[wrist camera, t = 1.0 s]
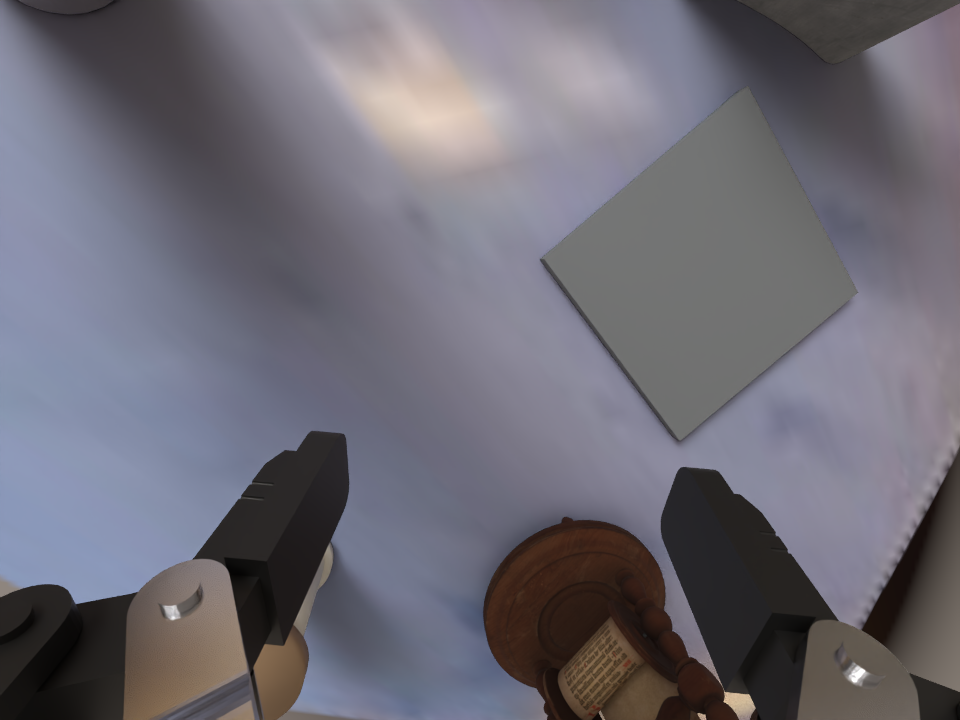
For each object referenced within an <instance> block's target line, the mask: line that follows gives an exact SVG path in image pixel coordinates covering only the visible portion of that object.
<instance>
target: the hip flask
mask: <svg viewBox="0 0 960 720" xmlns="http://www.w3.org/2000/svg"><path fill="white" fill-rule="evenodd" d="M737 1H739V2H741V3H743V4H745V5H747V6H748V7H750V8H752V9H754V10H756V11H757V12H759V13H761V14H763V15H764V16H766V17H768V18H770V19H771V20H773V21H775V22H776V23H778V24H779V25H781V26H782V27H784V28H785V29H787V30H788V31H789V32H791V33H792V34H794V35H795V36H796V37H797V38H799V39H800V40H801V41H803V42H804V43H805V44H806V45H807V46H809V47H810V48H811V49H812V50H813V51H814V52H815V53H816V54H817V55H818V56H819V57H821V58H822V59H823V60H824V61H825V62H827V63H831V64H837V63H840V62H842V61H844V60H846V59H848V58H850V57H852V56H854V55H856V54H858V53H860V52H862V51H864V50H866V49H868V48H870V47H872V46H874V45H876V44H878V43H880V42H882V41H884V40H886V39H888V38H891V37H893V36H895V35H897V34H899V33H901V32H903V31H905V30H907V29H909V28H911V27H913V26H915V25H917V24H919V23H921V22H923V21H925V20H927V19H929V18H931V17H933V16H935V15H937V14H939V13H941V12H943V11H945V10H947V9H949V8H951V7H953V6H955V5H957V4H959V3H960V0H737Z"/></svg>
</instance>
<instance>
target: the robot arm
mask: <svg viewBox="0 0 960 720" xmlns="http://www.w3.org/2000/svg"><path fill="white" fill-rule="evenodd" d="M18 1H20V2H22V3H24V4H26V5H28V6H31V7H34V8H37V9H40V10H43V11H46V12H52V13H60V14H79V13H88V12H91V11H93V10H96V9H99V8H102V7H105V6H106V5H108V4H109V3H111V2H112V1H114V0H18ZM348 492H349V473H348V459H347V445H346V437H345V435H344V434H341V433H330V432H320V431H311V432H310V433H309V434H308V435H307V436H306V438H305V439H304V441H303V442H302V444H301V445H300V446H299V448H298V449H297V451H289V450H285V451H283V452H282V453H280V454H279V455H277V456H276V457H275V458H273V459H272V460H270V461H269V462H267V463H266V464H265V465H264V466H263V468H262V469H261V470H260V472H259V473H258V474H257V476H256V477H255V478H254V479H253V481H252V485H251V484H250V485H249V486H248V487H247V489H246V490H245V491H244V493H243V494H242V495H241V499H238V501H237V502H236V503H235V505H234V506H233V507H232V508H231V510H230V511H229V512H228V514H227V515H226V516H225V518H224V519H223V520H222V522H221V523H220V524H219V526H218V527H217V528H216V530H215V531H214V532H213V534H212V535H211V536H210V538H209V539H208V540H207V541H206V543H205V544H204V545H203V547H202V548H201V549H200V551H199V552H198V553H197V555H196V556H195V557H194V558H193V559H192V560H190V561H185V562H182V563H179V564H177V565H174V566H172V567H170V568H168V569H166V570H164V571H162V572H161V573H159V574H158V575H156V576H155V577H153V578H152V579H151V580H150V581H149V582H147V583H146V584H145V585H144V586H143V587H142V588H141V589H140V590H139V592H136V593H132V594H127V595H122V596H117V597H111V598H106V599H101V600H96V601H90V602H85V603H80V604H75V602H74V600H73V598H72V596H71V595H70V593H69V591H68V590H67V589H65V588H64V587H61V586H58V585H52V584H44V585H36V586H31V587H27V588H23V589H20V590H17V591H14V592H12V593H9V594H8V595H5V596H3V597H0V720H264V715H263V710H262V705H261V700H260V695H259V690H258V685H257V680H256V675H255V671H254V665H255V663H256V661H257V659H258V657H259V655H260V653H261V651H262V649H263V647H264V644H268V645H278V646H284V645H285V642H286V640H287V638H288V636H289V633H290V631H291V629H292V627H293V624H294V622H295V620H296V618H297V615H298V613H299V611H300V609H301V606H302V604H303V602H304V599H305V597H306V595H307V593H308V590H309V588H310V586H311V584H312V581H313V579H314V577H315V575H316V572H317V570H318V568H319V566H320V563H321V561H322V559H323V556H324V554H325V552H326V550H327V547H328V545H329V543H330V541H331V538H332V536H333V534H334V532H335V529H336V527H337V525H338V523H339V520H340V518H341V516H342V513H343V511H344V509H345V506H346V502H347V498H348ZM775 533H776V532H775V531H774V529H773V528H772V527H771V525H770V524H769V522H768V521H767V520H766V518H765V517H764V515H763V514H762V513H761V512H760V511H759V510H758V509H757V508H756V507H754V506H753V505H752V504H751V503H750V502H748V501H747V500H746V499H745V498H744V497H743V496H741V495H740V494H734V493H733V492H732V490H731V489H730V487H729V486H728V484H727V483H726V481H725V480H724V478H723V477H722V475H721V474H720V473H719V472H718V471H716V470H710V469H700V468H689V467H682V468H680V469H679V470H678V472H677V474H676V477H675V479H674V482H673V485H672V488H671V490H670V493H669V496H668V499H667V501H666V504H665V507H664V510H663V513H662V517H661V534H662V539H663V542H664V544H665V547H666V549H667V552H668V554H669V557H670V559H671V561H672V564H673V566H674V569H675V571H676V574H677V576H678V578H679V581H680V583H681V586H682V588H683V591H684V593H685V596H686V598H687V600H688V603H689V605H690V608H691V610H692V613H693V615H694V618H695V620H696V622H697V625H698V627H699V630H700V632H701V635H702V637H703V639H704V642H705V644H706V647H707V649H708V652H709V654H710V657H711V659H712V661H713V664H714V666H715V669H716V671H717V674H718V676H719V679H720V681H721V683H722V686H723V688H724V691H725V692H730V693H741V694H750V696H751V698H752V701H753V703H754V705H755V707H756V709H755V710H754V712H753V713H752V715H751V718H750V720H960V692H958V691H955V690H952V689H950V688H947V687H945V686H942V685H939V684H937V683H934V682H931V681H929V680H926V679H923V678H921V677H918V676H915V675H913V674H910V673H908V672H907V670H906V669H905V668H904V666H903V665H902V664H901V663H900V662H899V660H898V659H897V658H896V657H895V656H894V655H893V654H892V653H891V652H890V651H889V650H888V649H887V648H885V647H884V646H883V645H882V644H880V643H879V642H878V641H876V640H875V639H873V638H872V637H871V636H870V635H868V634H866V633H864V632H863V631H861V630H859V629H857V628H855V627H853V626H851V625H848V624H846V623H843V622H839V620H838V619H837V618H836V616H835V615H834V613H833V612H832V611H831V609H830V608H829V606H828V605H827V604H826V602H825V601H824V599H823V598H822V597H821V595H820V594H819V592H818V591H817V590H816V588H815V587H814V585H813V584H812V583H811V581H810V580H809V578H808V577H807V576H806V574H805V573H804V571H803V570H802V569H801V567H800V566H799V564H798V563H797V562H796V560H795V559H794V557H793V556H792V555H791V554H788V551H787V550H788V549H787V548H786V546H785V545H784V543H783V542H782V541H781V539H780V538H779V536H776V535H775Z"/></svg>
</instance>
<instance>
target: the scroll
mask: <svg viewBox="0 0 960 720" xmlns="http://www.w3.org/2000/svg"><path fill="white" fill-rule="evenodd" d="M664 606H665V585H664V580H663V576H662V573H661V570H660V567H659V566H658V564H657V562H656V560H655V559H654V557H653V556H652V554H651V553H650V552H649V551H648V550H647V548H646V547H645V546H644V545H643V544H642V542H641V541H640V540H638V539H637V538H636V537H635V536H634V535H632V534H631V533H630V532H628V531H626V530H624V529H623V528H621V527H618V526H616V525H613V524H610V523H606V522H601V521H593V520H578V521H573V520H572V519H571V518H568V517H564V518H563V519H562V523H560V524H557V525H554V526H551V527H548V528H546V529H543V530H541V531H539V532H537V533H535V534H534V535H532V536H530V537H529V538H527V539H526V540H525V541H523V542H522V543H520V544H519V545H518V546H517V547H516V548H515V549H513V550H512V551H511V552H510V553H509V555H508V556H507V557H506V558H505V559H504V560H503V562H502V563H501V564H500V566H499V567H498V569H497V570H496V572H495V573H494V575H493V577H492V579H491V581H490V584H489V586H488V589H487V592H486V596H485V601H484V609H483V619H484V626H485V631H486V636H487V640H488V644H489V647H490V649H491V652H492V654H493V656H494V657H495V659H496V661H497V662H498V663H499V665H500V666H501V667H502V668H503V669H504V670H505V671H506V672H507V673H508V674H509V675H510V676H512V677H513V678H515V679H516V680H518V681H520V682H521V683H523V684H526V685H528V686H531V687H534V688H537V690H538V692H539V693H540V695H541V696H542V697H543V699H544V700H545V702H546V703H545V704H544V711H545V713H546V714H547V715H548V717H547V720H602V718H601V717H600V715H599V713H598V712H599V711H600V710H601V712H602V714H603V716H604V718H605V720H701V719H700V718H699V716H698V714H697V713H701V714H706V720H739V719H738V717H737V715H736V713H735V712H734V710H733V709H732V708H731V707H730V706H729V705H728V704H726V703H724V702H723V701H724V697H725V695H724V690H723V687H722V686H721V684H720V683H719V681H718V680H717V679H716V677H715V676H714V675H713V674H712V673H711V672H710V671H709V670H708V669H707V668H706V667H705V666H704V665H702V664H700V663H699V662H698V661H697V660H696V659H694V658H692V657H689V656H688V654H687V651H686V648H685V645H684V643H683V641H682V639H681V638H680V636H679V635H678V634H677V633H675V632H673V631H672V623H671V619H670V617H669V616H668V614H667V613H666V612H665V611H664Z"/></svg>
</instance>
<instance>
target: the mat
mask: <svg viewBox="0 0 960 720" xmlns="http://www.w3.org/2000/svg"><path fill="white" fill-rule="evenodd" d="M540 260H541V261H542V263H543V264H544V265H545V267H546V268H547V269H548V271H549V272H550V273H551V275H552V276H553V277H554V279H555V280H556V281H557V283H558V284H559V285H560V287H561V288H562V289H563V291H564V292H565V293H566V295H567V296H568V298H569V299H570V300H571V302H572V303H573V304H574V306H575V307H576V308H577V310H578V311H579V312H580V314H581V315H582V316H583V318H584V319H585V320H586V322H587V323H588V324H589V326H590V327H591V328H592V330H593V331H594V332H595V334H596V335H597V336H598V338H599V339H600V340H601V342H602V343H603V344H604V346H605V347H606V348H607V350H608V351H609V352H610V354H611V355H612V356H613V358H614V359H615V360H616V362H617V363H618V364H619V366H620V367H621V368H622V370H623V371H624V372H625V374H626V375H627V376H628V378H629V379H630V380H631V382H632V383H633V384H634V386H635V387H636V388H637V390H638V391H639V392H640V394H641V395H642V396H643V398H644V399H645V400H646V402H647V403H648V404H649V406H650V407H651V408H652V410H653V411H654V412H655V414H656V415H657V416H658V418H659V419H660V420H661V422H662V423H663V424H664V426H665V427H666V428H667V430H668V431H669V432H670V434H671V435H672V436H673V437H674V438H676V439H677V440H679V441H681V440H682V439H683V438H684V437H686V436H687V435H688V434H689V433H690V432H692V431H693V430H694V429H695V428H696V427H698V426H699V425H700V424H701V423H702V422H704V421H705V420H706V419H707V418H708V417H710V416H711V415H712V414H713V413H714V412H716V411H717V410H718V409H719V408H720V407H722V406H723V405H724V404H725V403H726V402H727V401H729V400H730V399H731V398H732V397H733V396H735V395H736V394H737V393H738V392H739V391H741V390H742V389H743V388H744V387H745V386H747V385H748V384H749V383H750V382H751V381H753V380H754V379H755V378H756V377H757V376H759V375H760V374H761V373H762V372H763V371H765V370H766V369H767V368H768V367H769V366H771V365H772V364H773V363H774V362H775V361H777V360H778V359H779V358H780V357H781V356H783V355H784V354H785V353H786V352H787V351H789V350H790V349H791V348H792V347H793V346H795V345H796V344H797V343H798V342H799V341H801V340H802V339H803V338H804V337H805V336H807V335H808V334H809V333H810V332H811V331H813V330H814V329H815V328H816V327H817V326H819V325H820V324H821V323H822V322H823V321H825V320H826V319H827V318H828V317H829V316H831V315H832V314H833V313H834V312H835V311H837V310H838V309H839V308H840V307H841V306H843V305H844V304H845V303H846V302H847V301H849V300H850V299H851V298H852V297H853V296H855V295H856V294H857V293H858V291H857V290H856V288H855V286H854V284H853V282H852V280H851V278H850V276H849V274H848V273H847V271H846V269H845V267H844V265H843V263H842V261H841V259H840V258H839V256H838V254H837V252H836V250H835V248H834V246H833V244H832V243H831V241H830V239H829V237H828V235H827V233H826V231H825V229H824V228H823V226H822V224H821V222H820V220H819V218H818V216H817V214H816V213H815V211H814V209H813V207H812V205H811V203H810V201H809V199H808V198H807V196H806V194H805V192H804V190H803V188H802V186H801V184H800V182H799V181H798V179H797V177H796V175H795V173H794V171H793V169H792V167H791V166H790V164H789V162H788V160H787V158H786V156H785V154H784V152H783V151H782V149H781V147H780V145H779V143H778V141H777V139H776V137H775V136H774V134H773V132H772V130H771V128H770V126H769V124H768V122H767V121H766V119H765V117H764V115H763V113H762V111H761V109H760V107H759V105H758V104H757V102H756V100H755V98H754V96H753V94H752V92H751V90H750V89H749V87H748V86H747V87H745V88H743V89H741V90H740V91H738V92H736V93H735V94H734V95H733V96H732V97H731V98H729V99H728V100H727V101H726V102H725V103H723V104H722V105H721V106H720V107H719V108H718V109H716V110H715V111H714V112H713V113H712V114H710V115H709V116H708V117H707V118H706V119H705V120H703V121H702V122H701V123H700V124H699V125H698V126H696V127H695V128H694V129H693V130H692V131H690V132H689V133H688V134H687V135H686V136H685V137H683V138H682V139H681V140H680V141H679V142H678V143H676V144H675V145H674V146H673V147H672V148H670V149H669V150H668V151H667V152H666V153H665V154H663V155H662V156H661V157H660V158H659V159H657V160H656V161H655V162H654V163H653V164H652V165H650V166H649V167H648V168H647V169H646V170H645V171H643V172H642V173H641V174H640V175H639V176H637V177H636V178H635V179H634V180H633V181H632V182H630V183H629V184H628V185H627V186H626V187H624V188H623V189H622V190H621V191H620V192H619V193H617V194H616V195H615V196H614V197H613V198H612V199H610V200H609V201H608V202H607V203H606V204H604V205H603V206H602V207H601V208H600V209H599V210H597V211H596V212H595V213H594V214H593V215H591V216H590V217H589V218H588V219H587V220H586V221H584V222H583V223H582V224H581V225H580V226H579V227H577V228H576V229H575V230H574V231H573V232H571V233H570V234H569V235H568V236H567V237H566V238H564V239H563V240H562V241H561V242H560V243H559V244H557V245H556V246H555V247H554V248H553V249H551V250H550V251H549V252H548V253H547V254H546V255H544V256H543V257H542V258H541V259H540Z"/></svg>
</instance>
